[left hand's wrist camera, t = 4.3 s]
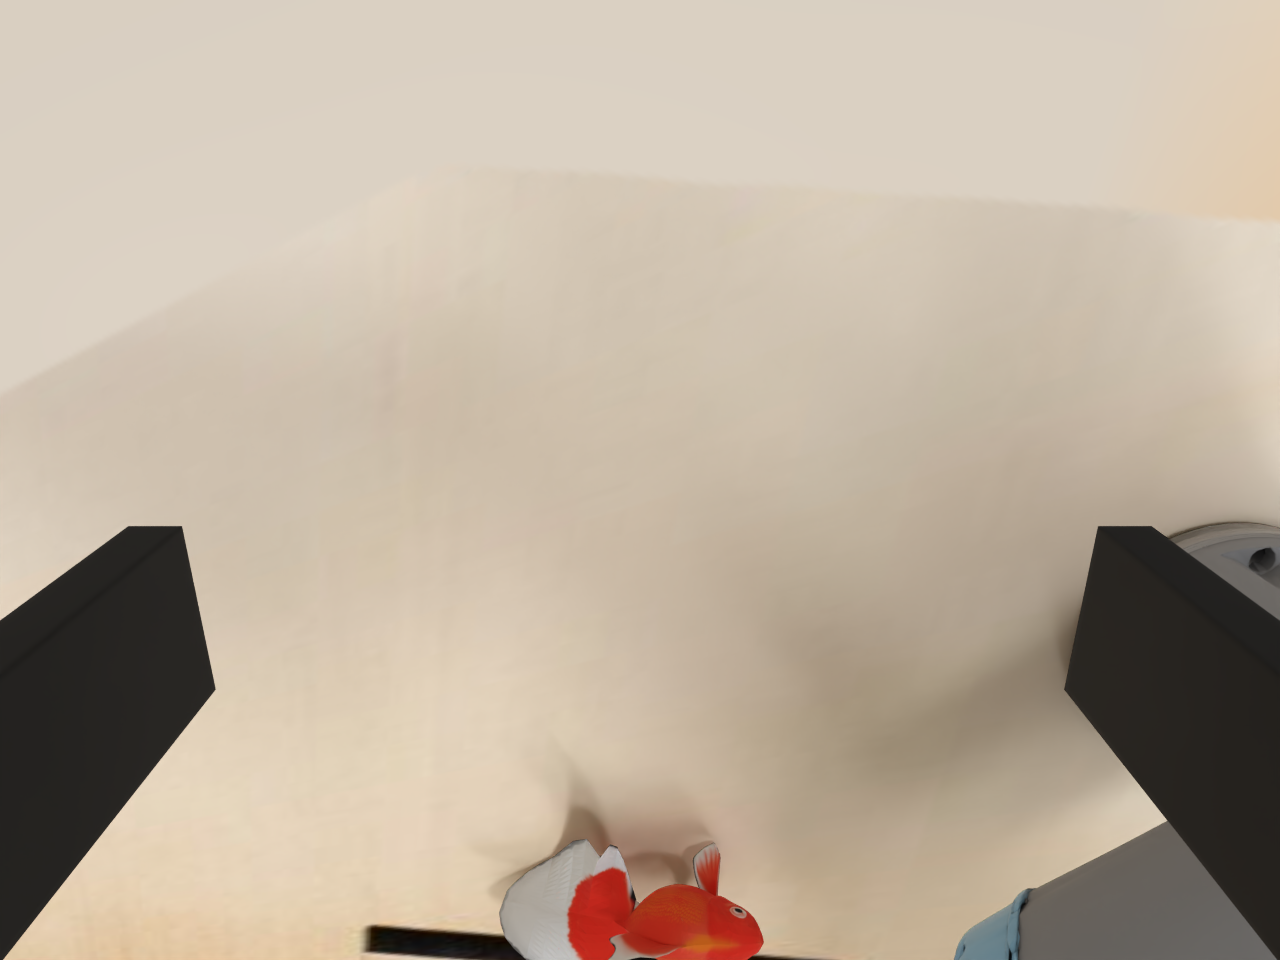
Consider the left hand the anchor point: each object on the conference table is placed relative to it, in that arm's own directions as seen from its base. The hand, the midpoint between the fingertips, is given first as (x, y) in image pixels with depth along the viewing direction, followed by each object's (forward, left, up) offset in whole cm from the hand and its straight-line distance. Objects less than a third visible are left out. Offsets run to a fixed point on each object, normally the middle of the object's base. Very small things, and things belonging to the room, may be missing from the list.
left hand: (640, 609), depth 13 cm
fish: (+28, +24, -32) cm, 49 cm away
